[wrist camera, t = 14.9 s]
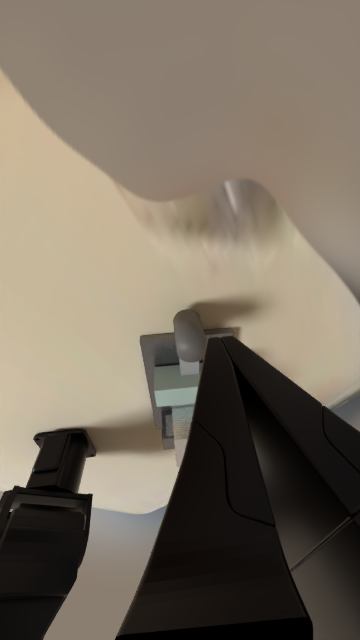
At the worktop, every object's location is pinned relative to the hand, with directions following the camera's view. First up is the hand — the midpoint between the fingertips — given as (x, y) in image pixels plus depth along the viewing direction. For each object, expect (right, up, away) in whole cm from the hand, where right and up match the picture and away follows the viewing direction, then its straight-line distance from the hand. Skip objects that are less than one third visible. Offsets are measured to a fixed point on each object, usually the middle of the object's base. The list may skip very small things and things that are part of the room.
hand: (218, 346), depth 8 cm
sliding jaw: (-1, -2, +15) cm, 15 cm away
